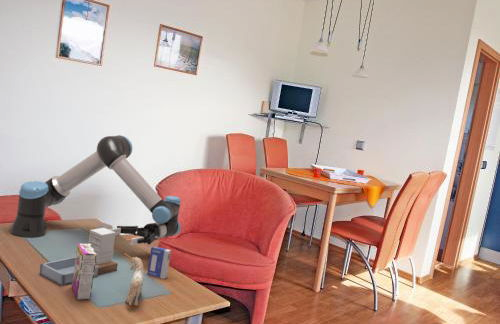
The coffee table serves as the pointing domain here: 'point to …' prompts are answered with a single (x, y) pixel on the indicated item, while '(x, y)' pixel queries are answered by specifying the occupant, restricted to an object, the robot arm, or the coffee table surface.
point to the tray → (61, 270)
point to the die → (105, 226)
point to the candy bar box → (84, 271)
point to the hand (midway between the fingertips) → (119, 237)
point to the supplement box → (102, 244)
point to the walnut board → (106, 267)
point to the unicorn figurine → (135, 280)
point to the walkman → (159, 262)
